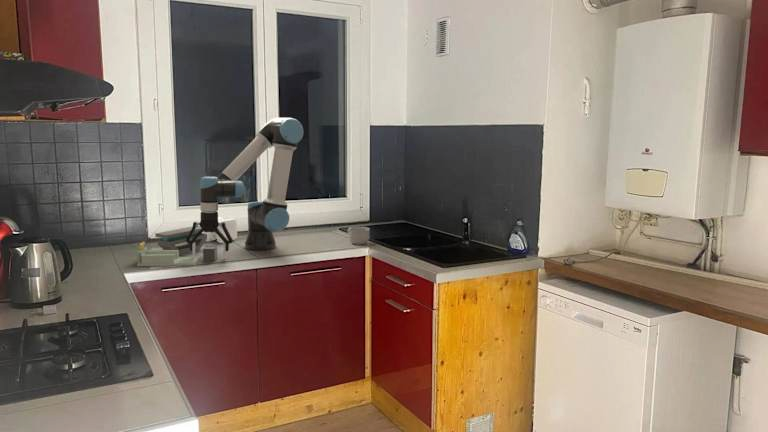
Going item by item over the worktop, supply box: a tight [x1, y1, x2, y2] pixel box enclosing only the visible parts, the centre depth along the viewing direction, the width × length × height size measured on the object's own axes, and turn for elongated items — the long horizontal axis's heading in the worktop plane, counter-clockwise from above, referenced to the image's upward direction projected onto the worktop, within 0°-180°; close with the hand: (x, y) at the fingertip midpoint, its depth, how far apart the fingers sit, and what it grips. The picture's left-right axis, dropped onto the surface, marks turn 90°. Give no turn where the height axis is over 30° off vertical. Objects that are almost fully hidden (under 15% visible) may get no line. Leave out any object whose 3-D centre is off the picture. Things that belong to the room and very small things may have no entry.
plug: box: [202, 245, 218, 263], centre depth 270 cm, size 7×5×6 cm
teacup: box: [347, 226, 371, 246], centre depth 312 cm, size 14×11×8 cm
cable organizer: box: [202, 217, 238, 244], centre depth 312 cm, size 15×11×12 cm
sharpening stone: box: [154, 225, 207, 257], centre depth 284 cm, size 25×8×11 cm, turn 151°
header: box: [136, 241, 201, 267], centre depth 264 cm, size 24×12×9 cm, turn 97°
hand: (209, 258), depth 270 cm, fingers open, 13 cm apart
